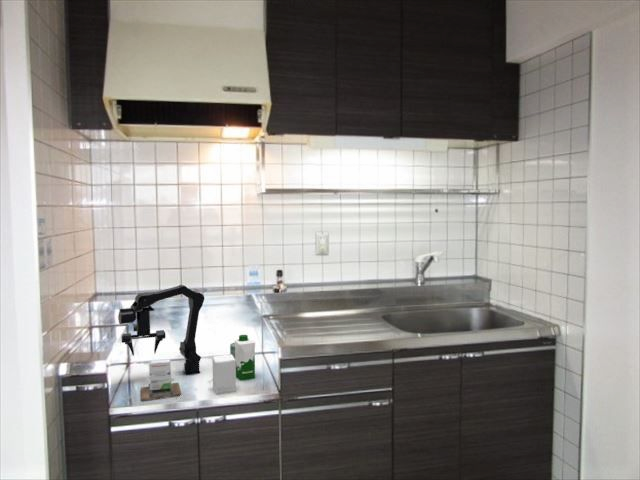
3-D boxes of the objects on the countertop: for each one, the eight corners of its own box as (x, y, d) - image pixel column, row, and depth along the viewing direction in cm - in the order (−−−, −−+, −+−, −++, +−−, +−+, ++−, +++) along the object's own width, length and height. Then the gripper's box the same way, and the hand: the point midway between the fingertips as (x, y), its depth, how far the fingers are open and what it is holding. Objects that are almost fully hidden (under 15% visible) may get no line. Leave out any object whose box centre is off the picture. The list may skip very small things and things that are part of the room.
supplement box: (236, 393, 203) (236, 359, 202) (215, 396, 200) (215, 362, 199) (232, 386, 212) (232, 353, 211) (212, 389, 209) (212, 356, 208)
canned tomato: (244, 368, 236) (244, 346, 236) (228, 368, 236) (228, 346, 236) (247, 362, 244) (246, 342, 244) (232, 362, 244) (231, 342, 244)
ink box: (171, 384, 208) (171, 358, 207) (170, 388, 203) (170, 362, 202) (151, 386, 206) (150, 359, 205) (149, 390, 201) (148, 363, 200)
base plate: (178, 384, 214) (178, 379, 214) (181, 395, 201) (181, 390, 201) (140, 389, 208) (140, 384, 208) (141, 401, 195) (141, 396, 195)
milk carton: (251, 374, 228) (250, 333, 226) (257, 380, 220) (257, 338, 218) (233, 377, 224) (232, 335, 222) (239, 383, 216) (238, 340, 214)
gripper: (163, 315, 226) (164, 347, 227) (121, 319, 219) (122, 352, 220) (165, 320, 216) (166, 354, 217) (121, 324, 209) (122, 359, 210)
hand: (144, 354), depth 216 cm, fingers open, 9 cm apart
